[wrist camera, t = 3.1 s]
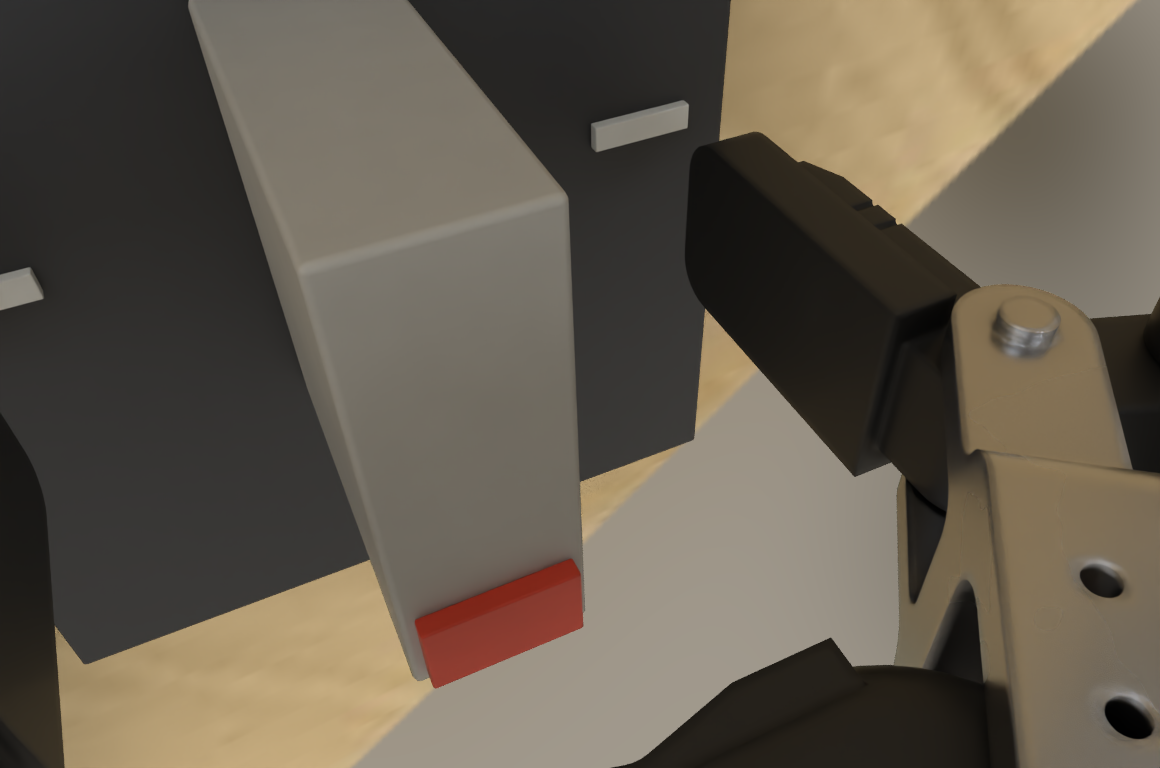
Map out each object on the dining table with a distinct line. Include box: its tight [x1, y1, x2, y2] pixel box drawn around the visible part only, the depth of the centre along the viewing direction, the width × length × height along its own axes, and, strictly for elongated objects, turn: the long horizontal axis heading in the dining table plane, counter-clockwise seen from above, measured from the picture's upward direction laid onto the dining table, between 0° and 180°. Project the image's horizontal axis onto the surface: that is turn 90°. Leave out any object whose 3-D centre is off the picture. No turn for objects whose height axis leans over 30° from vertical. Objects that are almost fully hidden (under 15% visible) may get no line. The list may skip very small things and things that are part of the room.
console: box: [0, 0, 731, 664], centre depth 13 cm, size 14×11×3 cm
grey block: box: [188, 0, 585, 688], centre depth 10 cm, size 6×2×5 cm, turn 2°
